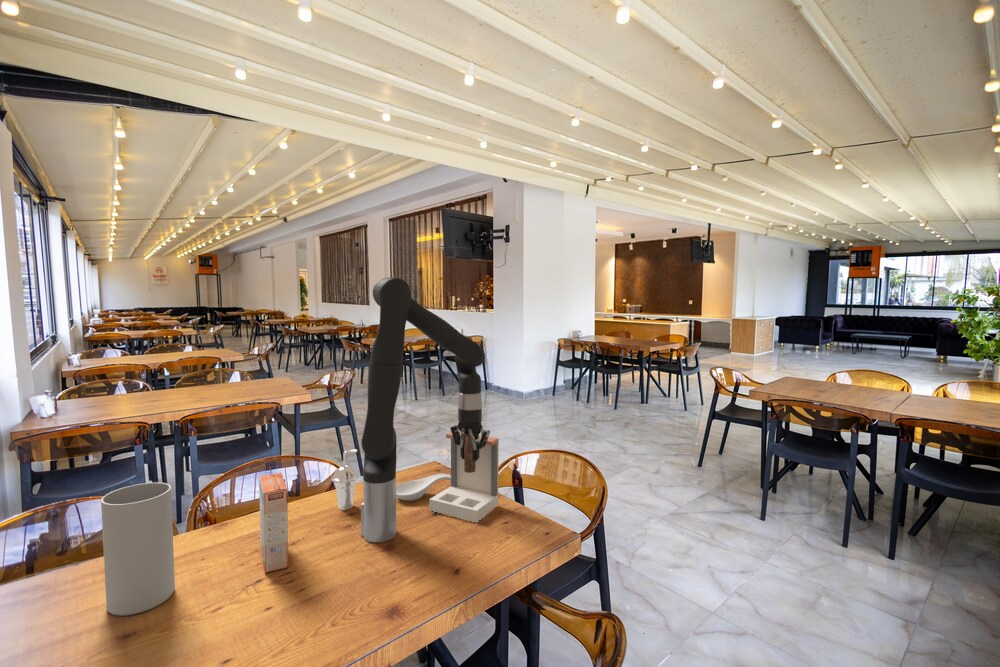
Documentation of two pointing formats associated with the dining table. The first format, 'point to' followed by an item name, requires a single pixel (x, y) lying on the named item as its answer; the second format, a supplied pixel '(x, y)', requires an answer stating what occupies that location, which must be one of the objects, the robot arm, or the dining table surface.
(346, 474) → the cup with straw
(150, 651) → the dining table surface
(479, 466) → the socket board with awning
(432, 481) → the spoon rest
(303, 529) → the dining table surface
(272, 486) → the cracker box
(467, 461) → the walnut dowel
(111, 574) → the cylinder vase
